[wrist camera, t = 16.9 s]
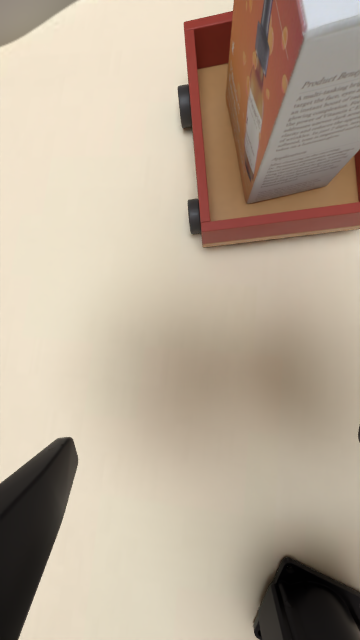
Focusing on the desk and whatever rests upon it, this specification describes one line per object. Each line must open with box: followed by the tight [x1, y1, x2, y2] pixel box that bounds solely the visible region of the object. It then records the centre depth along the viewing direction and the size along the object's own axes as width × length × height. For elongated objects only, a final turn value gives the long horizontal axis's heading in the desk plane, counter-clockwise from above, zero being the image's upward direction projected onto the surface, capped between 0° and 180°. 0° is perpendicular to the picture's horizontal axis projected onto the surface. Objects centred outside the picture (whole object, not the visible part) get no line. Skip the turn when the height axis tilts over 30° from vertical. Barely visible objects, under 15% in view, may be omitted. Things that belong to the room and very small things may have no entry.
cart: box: [178, 11, 360, 247], centre depth 17 cm, size 18×13×4 cm
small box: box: [226, 0, 360, 204], centre depth 12 cm, size 8×6×10 cm
